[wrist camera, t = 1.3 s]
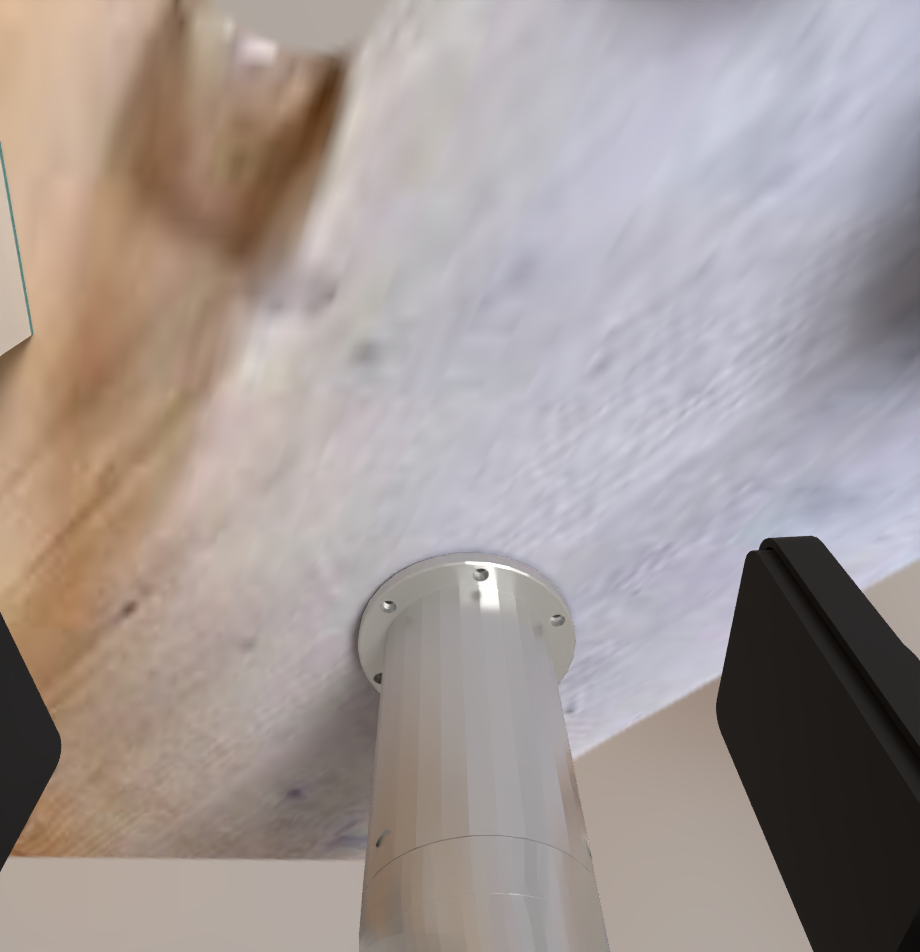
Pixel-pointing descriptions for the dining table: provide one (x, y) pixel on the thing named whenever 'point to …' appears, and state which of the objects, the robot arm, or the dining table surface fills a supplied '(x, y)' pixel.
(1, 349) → the white block
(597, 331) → the dining table surface
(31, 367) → the dining table surface
